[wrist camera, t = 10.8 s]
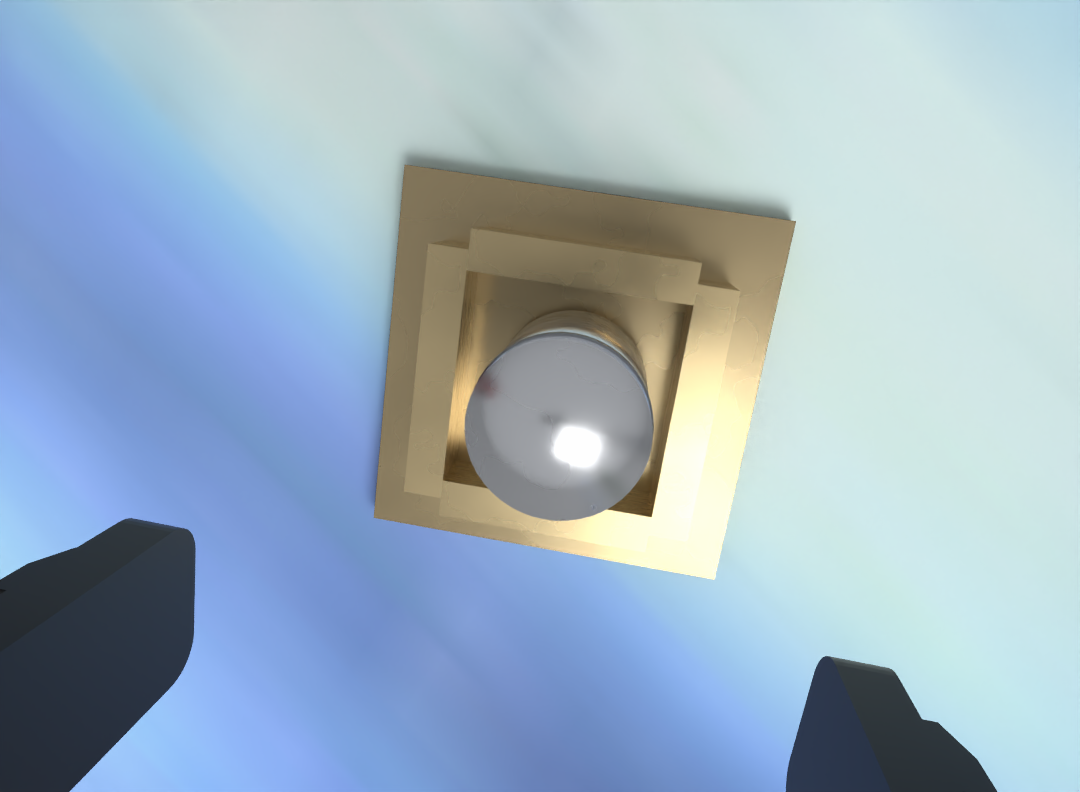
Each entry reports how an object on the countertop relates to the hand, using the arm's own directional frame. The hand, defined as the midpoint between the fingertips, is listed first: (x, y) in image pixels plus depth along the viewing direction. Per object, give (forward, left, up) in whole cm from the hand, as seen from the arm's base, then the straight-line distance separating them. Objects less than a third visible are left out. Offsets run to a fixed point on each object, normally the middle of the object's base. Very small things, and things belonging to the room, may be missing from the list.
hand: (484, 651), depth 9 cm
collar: (0, 0, -16) cm, 16 cm away
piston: (0, 0, -15) cm, 15 cm away
